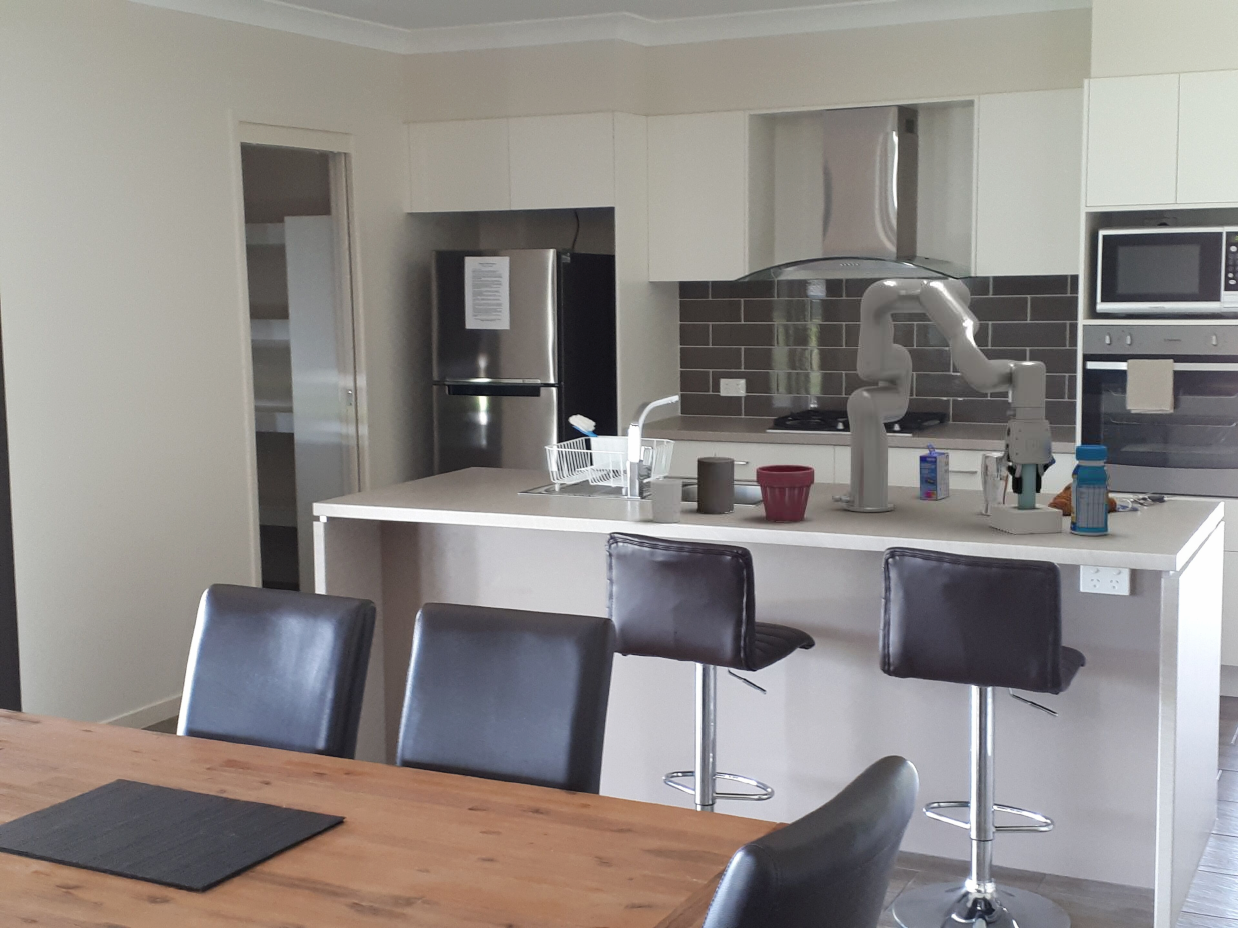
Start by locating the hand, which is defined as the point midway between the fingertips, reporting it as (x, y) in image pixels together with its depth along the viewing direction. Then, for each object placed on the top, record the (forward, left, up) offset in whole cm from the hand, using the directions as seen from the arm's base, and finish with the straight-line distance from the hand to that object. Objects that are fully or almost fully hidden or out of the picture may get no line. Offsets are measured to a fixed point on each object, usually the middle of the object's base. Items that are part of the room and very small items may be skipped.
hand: (1026, 492), depth 311 cm
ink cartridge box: (+2, +54, -9) cm, 55 cm away
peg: (0, 0, -5) cm, 5 cm away
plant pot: (-49, +29, -9) cm, 58 cm away
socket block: (0, 0, -9) cm, 9 cm away
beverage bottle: (+11, -9, -9) cm, 17 cm away
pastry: (+26, +20, -9) cm, 34 cm away
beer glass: (+4, +23, -9) cm, 25 cm away
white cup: (-78, +34, -9) cm, 86 cm away
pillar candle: (-62, +46, -9) cm, 78 cm away
